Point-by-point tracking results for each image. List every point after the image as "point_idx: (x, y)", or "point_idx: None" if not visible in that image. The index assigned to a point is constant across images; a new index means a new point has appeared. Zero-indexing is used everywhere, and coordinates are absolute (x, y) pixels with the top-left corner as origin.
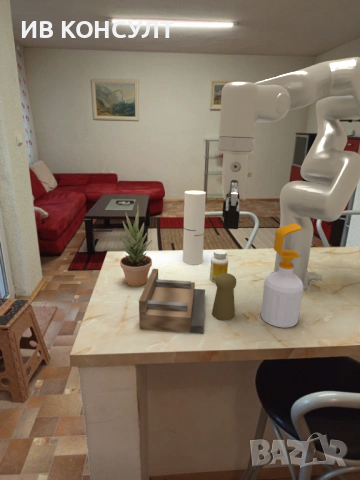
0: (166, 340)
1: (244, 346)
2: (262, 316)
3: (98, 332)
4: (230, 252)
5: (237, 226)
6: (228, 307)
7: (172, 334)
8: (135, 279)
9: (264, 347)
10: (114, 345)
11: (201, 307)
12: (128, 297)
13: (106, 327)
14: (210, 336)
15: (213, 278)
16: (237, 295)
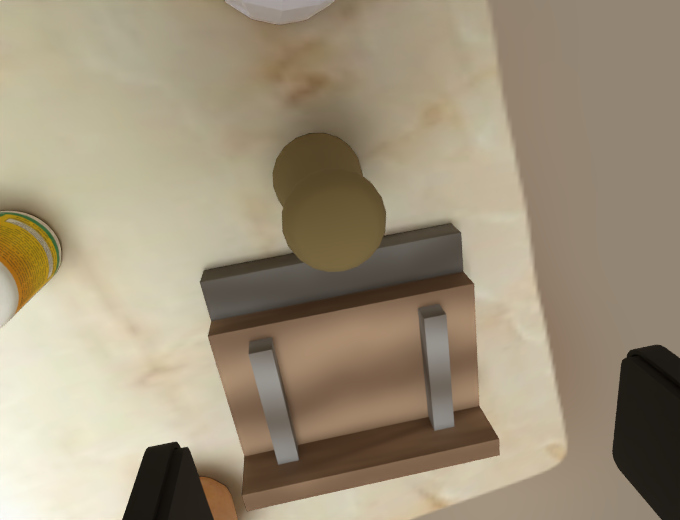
0: (499, 310)
1: (493, 82)
2: (311, 16)
3: (492, 461)
4: None
5: (670, 361)
6: (358, 169)
7: None
8: (235, 514)
9: (488, 9)
10: (535, 410)
11: None
12: None
13: None
14: (460, 198)
15: (54, 271)
16: (141, 140)
